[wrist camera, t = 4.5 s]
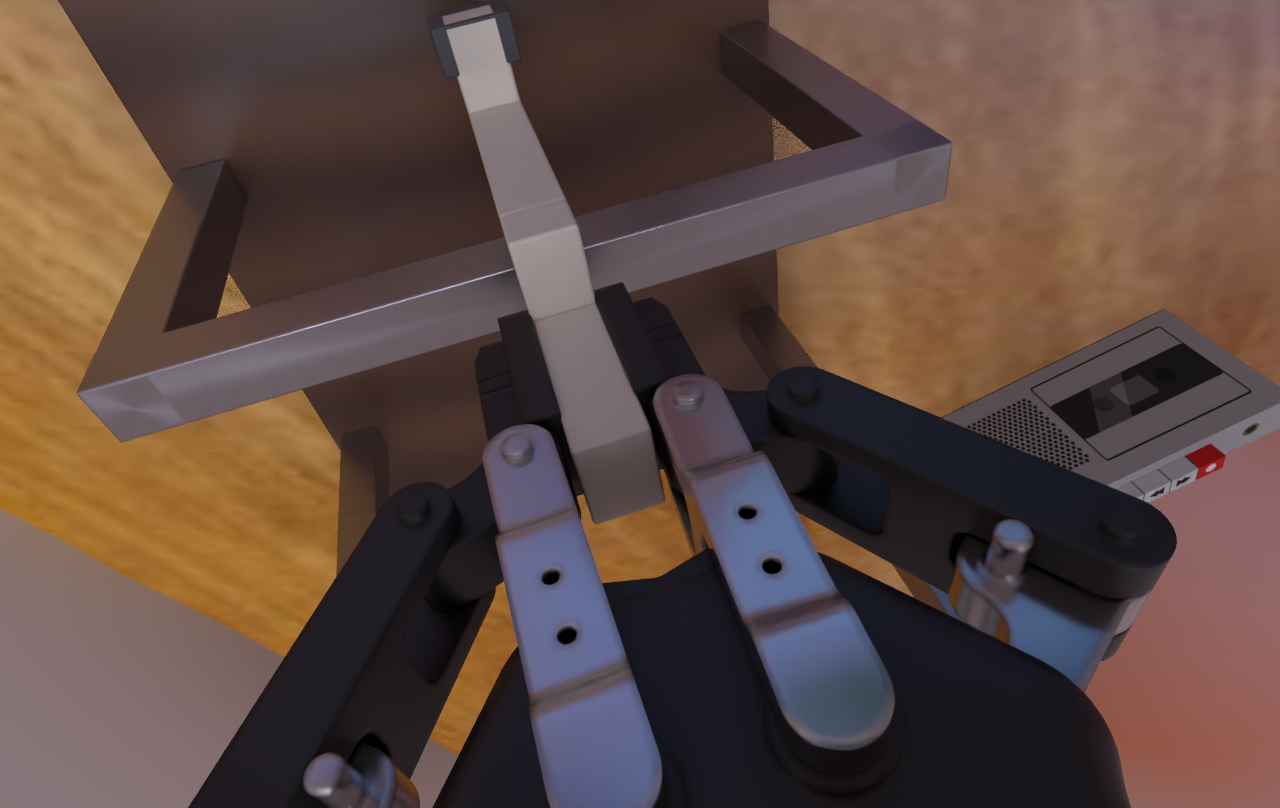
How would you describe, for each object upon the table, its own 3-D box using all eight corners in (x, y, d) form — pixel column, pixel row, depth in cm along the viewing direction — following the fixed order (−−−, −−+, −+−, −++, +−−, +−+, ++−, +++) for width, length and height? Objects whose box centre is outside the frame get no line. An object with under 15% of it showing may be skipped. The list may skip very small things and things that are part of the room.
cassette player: (1164, 309, 47) (1310, 407, 40) (1159, 338, 49) (1298, 438, 42) (940, 418, 48) (1044, 534, 41) (944, 443, 50) (1043, 558, 43)
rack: (64, -22, 22) (-979, 707, 5) (745, -179, 25) (1667, -54, 7) (391, 513, 40) (413, 1086, 23) (771, 392, 42) (1057, 830, 25)
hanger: (425, 15, 19) (483, 255, 10) (501, -4, 19) (630, 214, 10) (534, 349, 26) (625, 665, 17) (588, 333, 26) (707, 637, 17)
